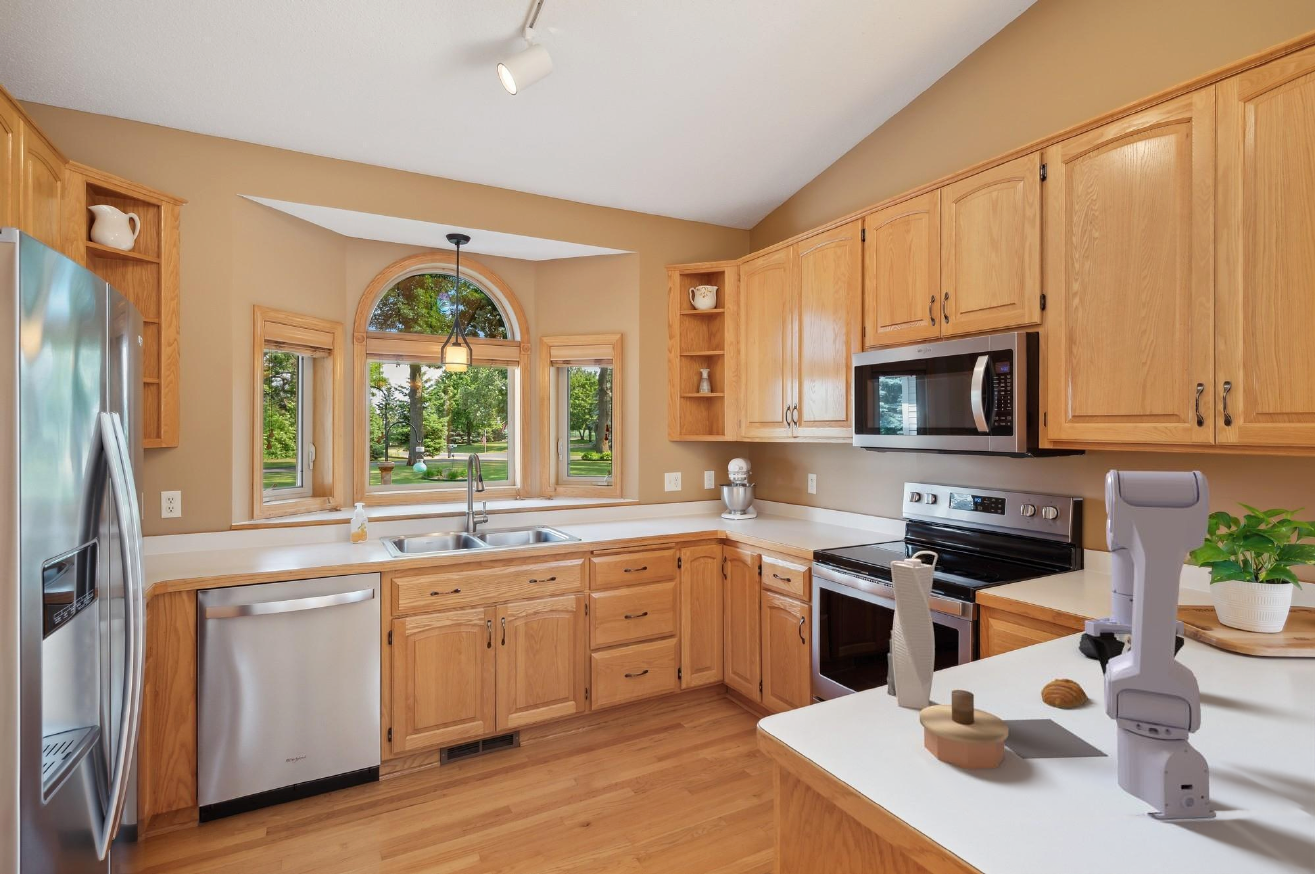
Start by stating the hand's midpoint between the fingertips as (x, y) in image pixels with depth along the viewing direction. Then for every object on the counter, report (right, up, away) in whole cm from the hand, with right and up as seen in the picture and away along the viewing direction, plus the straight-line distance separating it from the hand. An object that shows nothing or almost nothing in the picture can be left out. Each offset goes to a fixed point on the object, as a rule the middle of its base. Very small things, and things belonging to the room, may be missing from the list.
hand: (1134, 680), depth 100 cm
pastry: (-1, -11, +17) cm, 20 cm away
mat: (-15, -10, +1) cm, 18 cm away
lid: (-28, -5, -3) cm, 29 cm away
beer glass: (+19, -11, +26) cm, 34 cm away
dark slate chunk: (+30, -12, +47) cm, 57 cm away
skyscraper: (-28, -11, +15) cm, 34 cm away
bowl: (-28, -10, -4) cm, 30 cm away
